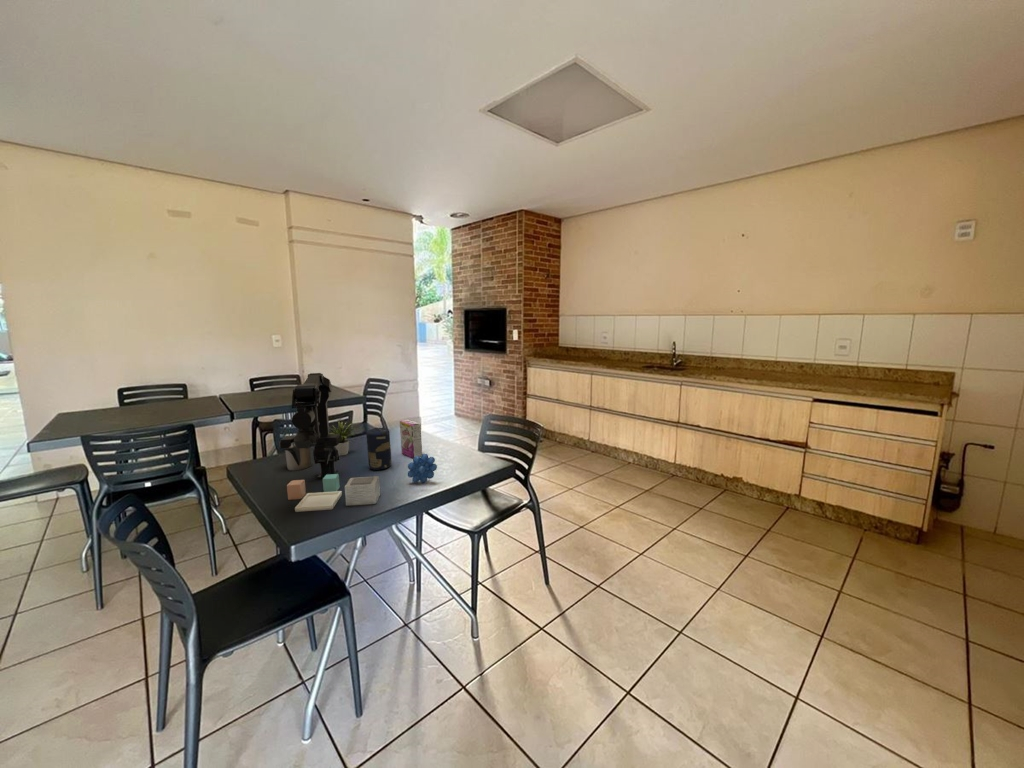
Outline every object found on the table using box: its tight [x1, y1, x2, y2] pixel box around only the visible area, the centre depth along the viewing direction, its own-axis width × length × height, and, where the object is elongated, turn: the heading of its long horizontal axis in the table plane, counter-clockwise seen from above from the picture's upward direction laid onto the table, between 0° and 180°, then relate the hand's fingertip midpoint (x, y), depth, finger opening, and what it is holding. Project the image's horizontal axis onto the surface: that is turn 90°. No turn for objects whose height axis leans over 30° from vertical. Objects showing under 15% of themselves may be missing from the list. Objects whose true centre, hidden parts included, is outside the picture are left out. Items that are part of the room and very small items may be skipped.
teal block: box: [322, 473, 340, 492], centre depth 155 cm, size 4×4×6 cm
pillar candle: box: [284, 433, 313, 471], centre depth 180 cm, size 10×10×15 cm
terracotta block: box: [286, 479, 307, 501], centre depth 150 cm, size 4×4×6 cm
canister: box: [365, 427, 392, 471], centre depth 177 cm, size 10×10×18 cm
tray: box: [294, 490, 343, 513], centre depth 144 cm, size 12×12×1 cm
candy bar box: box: [399, 419, 423, 459], centre depth 193 cm, size 11×5×16 cm, turn 45°
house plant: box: [329, 421, 356, 457], centre depth 195 cm, size 14×14×16 cm
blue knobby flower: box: [407, 453, 438, 484], centre depth 161 cm, size 12×7×12 cm, turn 92°
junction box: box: [344, 475, 381, 507], centre depth 146 cm, size 8×10×7 cm
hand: (313, 464), depth 143 cm, fingers open, 9 cm apart
